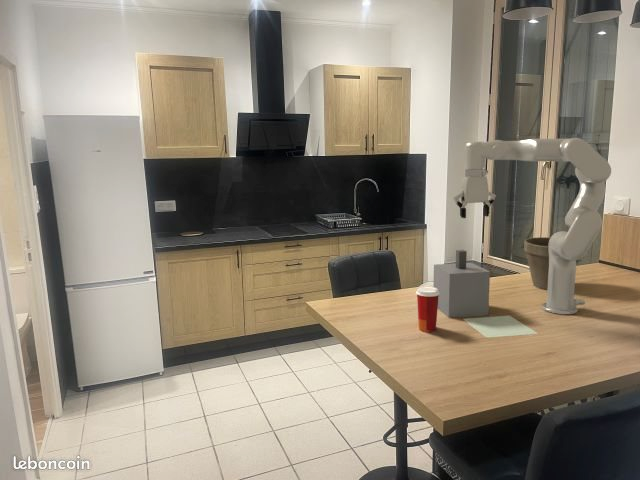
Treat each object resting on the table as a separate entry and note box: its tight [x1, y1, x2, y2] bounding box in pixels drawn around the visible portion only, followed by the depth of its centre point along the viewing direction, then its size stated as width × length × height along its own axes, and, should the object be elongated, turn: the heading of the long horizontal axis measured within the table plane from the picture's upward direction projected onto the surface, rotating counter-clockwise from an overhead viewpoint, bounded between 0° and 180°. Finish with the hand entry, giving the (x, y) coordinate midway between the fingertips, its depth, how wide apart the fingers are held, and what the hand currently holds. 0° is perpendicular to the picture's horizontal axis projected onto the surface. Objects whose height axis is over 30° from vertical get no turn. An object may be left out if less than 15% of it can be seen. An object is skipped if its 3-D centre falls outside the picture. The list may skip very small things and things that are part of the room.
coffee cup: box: [415, 286, 440, 333], centre depth 164 cm, size 8×8×15 cm
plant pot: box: [523, 236, 579, 291], centre depth 213 cm, size 25×25×22 cm
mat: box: [462, 315, 539, 339], centre depth 166 cm, size 19×19×1 cm
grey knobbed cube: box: [433, 249, 491, 319], centre depth 182 cm, size 16×16×25 cm
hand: (474, 217), depth 181 cm, fingers open, 9 cm apart
